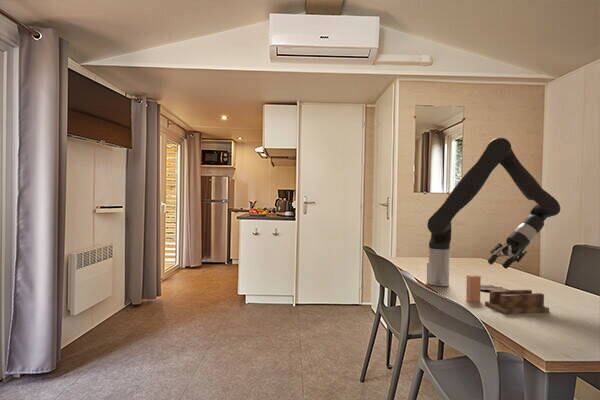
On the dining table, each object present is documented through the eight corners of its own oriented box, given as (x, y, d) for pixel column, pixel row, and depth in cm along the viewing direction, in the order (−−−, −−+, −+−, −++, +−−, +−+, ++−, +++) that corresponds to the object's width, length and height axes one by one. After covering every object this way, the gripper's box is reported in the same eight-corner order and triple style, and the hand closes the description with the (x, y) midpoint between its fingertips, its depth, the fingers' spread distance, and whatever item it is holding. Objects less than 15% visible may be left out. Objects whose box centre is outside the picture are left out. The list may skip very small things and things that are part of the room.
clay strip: (470, 301, 148) (470, 276, 147) (466, 299, 150) (466, 275, 150) (480, 301, 148) (480, 276, 148) (476, 299, 151) (476, 275, 151)
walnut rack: (505, 314, 132) (505, 297, 132) (484, 305, 143) (485, 289, 143) (549, 312, 135) (549, 295, 135) (525, 303, 146) (526, 288, 146)
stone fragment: (473, 289, 173) (471, 293, 164) (473, 282, 173) (471, 287, 164) (537, 296, 160) (539, 301, 151) (537, 289, 160) (539, 294, 152)
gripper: (503, 228, 159) (479, 256, 157) (529, 232, 145) (503, 261, 143) (514, 241, 160) (490, 268, 158) (541, 245, 146) (515, 275, 144)
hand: (496, 265), depth 151 cm, fingers open, 8 cm apart
